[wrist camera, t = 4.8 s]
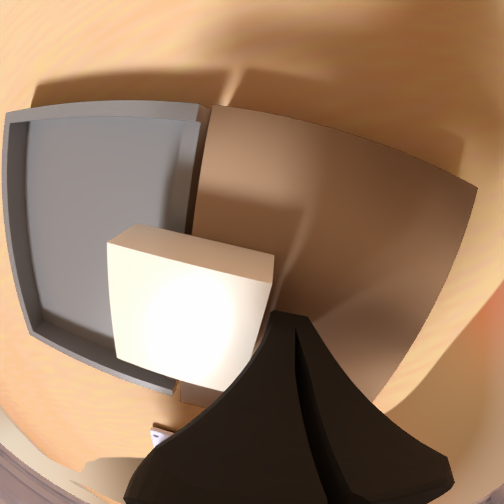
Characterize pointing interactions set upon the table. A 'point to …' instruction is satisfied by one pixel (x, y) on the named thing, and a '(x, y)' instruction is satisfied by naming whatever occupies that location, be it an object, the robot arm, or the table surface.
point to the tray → (93, 210)
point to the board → (333, 233)
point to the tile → (186, 303)
